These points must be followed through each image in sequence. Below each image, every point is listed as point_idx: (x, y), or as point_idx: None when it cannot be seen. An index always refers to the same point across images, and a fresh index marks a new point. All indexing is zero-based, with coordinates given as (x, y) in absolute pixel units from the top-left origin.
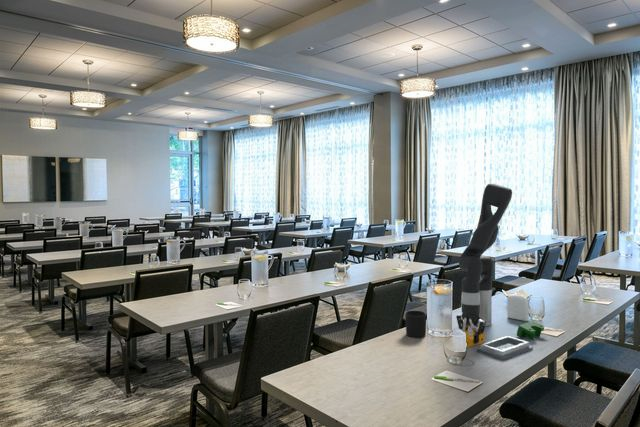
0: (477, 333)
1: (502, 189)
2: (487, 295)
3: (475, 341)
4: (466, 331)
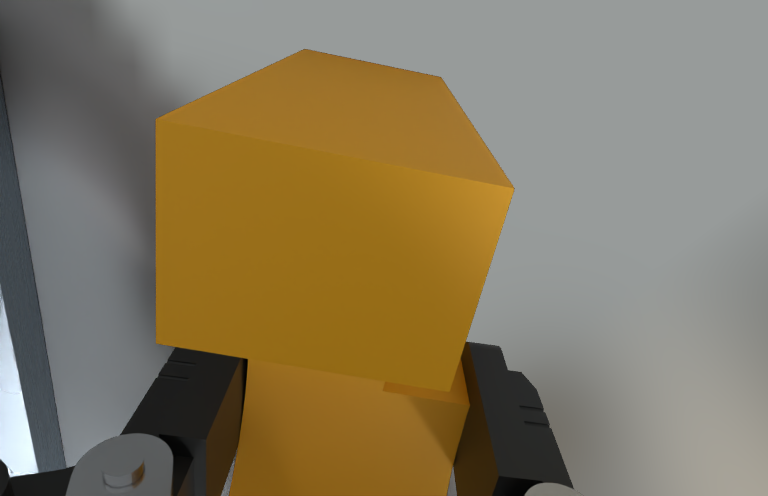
0: (5, 483)
1: None
2: None
3: None
4: (232, 324)
